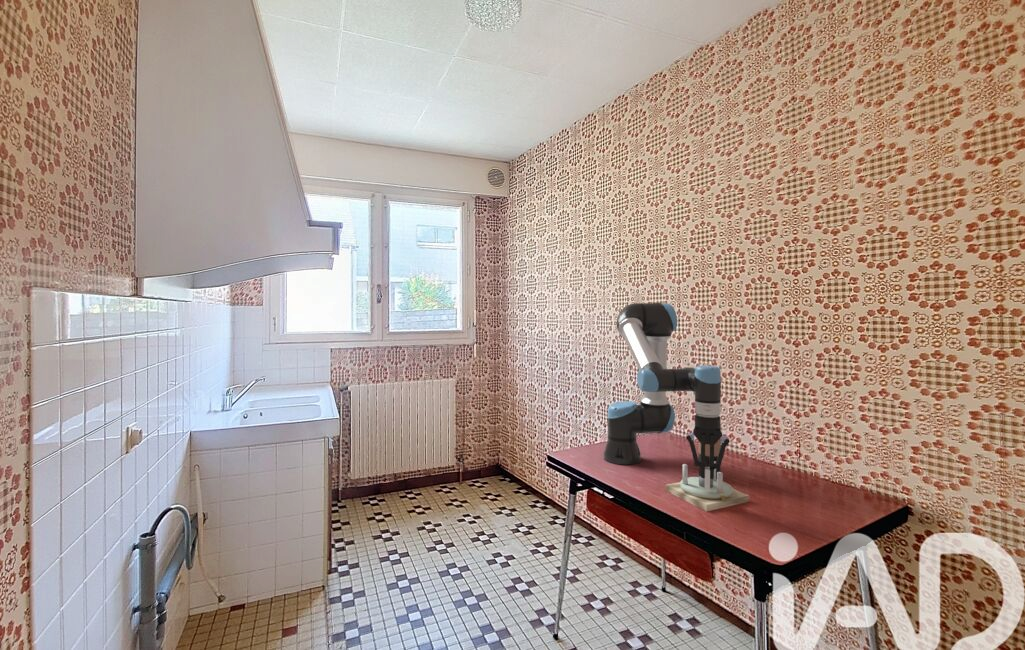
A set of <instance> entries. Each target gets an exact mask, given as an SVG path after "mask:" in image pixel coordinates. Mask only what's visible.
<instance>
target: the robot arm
mask: <svg viewBox="0 0 1025 650" xmlns="http://www.w3.org/2000/svg"><path fill="white" fill-rule="evenodd" d="M677 328H678V316H677V312H676V310H675V308H674V307H673V305H672V304H670V303H666V302H649V303H647V302H643V303H642V302H641V303H639V302H633V303H630V304H628V305H625V307H624V308H622V309H621V311H620V312H619V313H618V316H617V318H616V329H617V331H618V334H619V335H620V336H621V337H622V338H624V340H625V342H626V344H627V346H628V348H629V351H630V354H631V356H632V357H633V359H634V362H635V364H636V366H637V368H638V370H639V371H638V372H637V377H636V383H637V386H638V388H639V390H640V392H641V391H642V392H643V393H644V395H643V397H641V398H640V401H639V402H640V403H639V404H637V403H636V402H635V401H626V400H625V401H617V402H613V403H612V404H610V405H609V406H608V408H607V417H606V418H607V441H606V444H605V447H604V450H603V460H605V461H606V462H609V463H611V464H615V465H616V464H617V465H634V464H638V463H641V461H642V453H641V451H640V448H639V445H638V441H637V435H638V434H657V435H658V434H663V433H664V434H665V433H669V432H671V430H672V429H673V427H674V425H675V422H676V421H675V420H676V414H675V409H674V407H673V405H671V404H670V401H669V400H668V398H667V392H693V393H694V413H695V415H694V429H693V430H692V431H693V432H691V433H687V434H686V436H685V438H686V440H687V442H688V444H689V446H690V449H691V454H692V459H693V462H694V466H696V467H698V468H699V467H700V468H701V478H705V490H710V479H714V469H716V468H720V469H721V466H722V463H723V459H724V456H725V451H726V448H727V446H728V445H729V444H730V442H731V441H730V438H729V437H726V436H725V435H724V434H723V432H722V430H721V429H722V428H721V426H722V425H721V422H722V420H721V416H720V415H721V414H722V413H721V412H722V411H721V409H722V408H721V403H722V402H721V397H722V375H721V369H720V367H718V366H717V365H706V364H705V365H704V364H703V365H697V366H695V368H694V367H687V366H685V367H681V368H667V367H668V364H667V363H668V362H667V361H668V359H667V358H668V340H669V339H670V338H671V337H672V332H675V331H676V330H677ZM695 438H696V440H697V441H698V442H700V443H701V462H699V457H698V453H697V452H698V451H697V449H696V445H695V444H696V443H695V441H694V440H695ZM720 438H721V447H720V450H719V454H718V457H717V461H716V463H714V444H716V443H717V441H718V440H719V439H720ZM705 444H709V445H710V467H705Z"/></svg>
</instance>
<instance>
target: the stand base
mask: <svg viewBox="0 0 1025 650" xmlns="http://www.w3.org/2000/svg"><path fill="white" fill-rule="evenodd" d="M680 482H681V481H679V482H678V481H677V482H673V483H667V484H665V491H666V492H667V493H669V494H672V495H673V496H675V497H677V498H679V499H681V500H683V501H685V502H687V503H688V504H691V505H693V506H695V507H697V508H699V509H700V510H703V511H704V512H706V513H707V512H710V511H714V510H720V509H723V508H728V507H732V506H736V505H741V504H745V503H749V502H750V494H746V493H744V492H742V491H739V490H737V489H735V488H733V494H732V495H731V496H730V497H728V498H726V496H721V499H709V498H702V497H697V496H694V495H691V494H688V493H686V492H685V491H683V490H682V489H681V487H680Z"/></svg>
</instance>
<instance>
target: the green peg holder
mask: <svg viewBox="0 0 1025 650" xmlns="http://www.w3.org/2000/svg"><path fill="white" fill-rule="evenodd" d="M714 463H716V461H714ZM688 467H689V465H688V464H686V463H683V464H682V479H681V480H680V481H679V482H680V487H681V489H682V490H683V491H685V492H686V493H688V494H691V495H694V496H697V497H702V498H709V499H721V496H726V498H728V497H730V496H731V495H732V494H733V489H734V488H733V487H732V485H730V484H729V483H727V482H725V481H724V479H723V477H724V473H723V472H721V471H720V472H717V479H716V469H714V479H710V490H705V478H701V476H688V473H689V472H688V471H689V470H688V469H689V468H688Z"/></svg>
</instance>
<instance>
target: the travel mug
mask: <svg viewBox="0 0 1025 650" xmlns="http://www.w3.org/2000/svg"><path fill="white" fill-rule="evenodd" d="M721 443H722V442H721V438H720V439H719V440H718V441H717V443H716V444H714V461H717V457H718V454H719V450H720V447H721ZM697 452H698V453H697V456H698V460H699V462H701V443H700V442H699V441H698V451H697ZM705 467H710V445H709V444H705ZM717 472H721V467H720V468H716V479H717ZM698 475H699V476H698V477H700V476H701V468H700V467H699V466H698Z"/></svg>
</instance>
